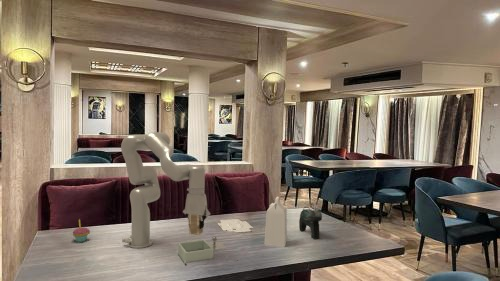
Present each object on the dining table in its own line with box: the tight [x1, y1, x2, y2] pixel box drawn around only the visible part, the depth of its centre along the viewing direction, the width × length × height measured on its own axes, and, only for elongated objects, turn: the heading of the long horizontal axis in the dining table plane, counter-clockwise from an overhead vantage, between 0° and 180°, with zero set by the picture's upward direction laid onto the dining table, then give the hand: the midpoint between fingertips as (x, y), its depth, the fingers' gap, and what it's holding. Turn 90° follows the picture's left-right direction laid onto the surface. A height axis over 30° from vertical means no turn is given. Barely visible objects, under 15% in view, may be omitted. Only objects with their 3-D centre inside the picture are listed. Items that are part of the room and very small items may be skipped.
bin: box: [177, 239, 214, 266], centre depth 167 cm, size 14×14×6 cm
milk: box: [263, 196, 288, 248], centre depth 192 cm, size 12×12×26 cm
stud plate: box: [207, 236, 227, 250], centre depth 180 cm, size 10×10×6 cm
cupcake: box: [72, 219, 91, 243], centre depth 186 cm, size 9×8×12 cm
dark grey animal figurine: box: [298, 203, 323, 240], centre depth 207 cm, size 20×6×20 cm, turn 22°
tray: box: [217, 218, 254, 233], centre depth 221 cm, size 20×28×4 cm
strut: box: [188, 214, 204, 236], centre depth 166 cm, size 5×5×11 cm
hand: (196, 227), depth 166 cm, fingers closed on strut, 5 cm apart
